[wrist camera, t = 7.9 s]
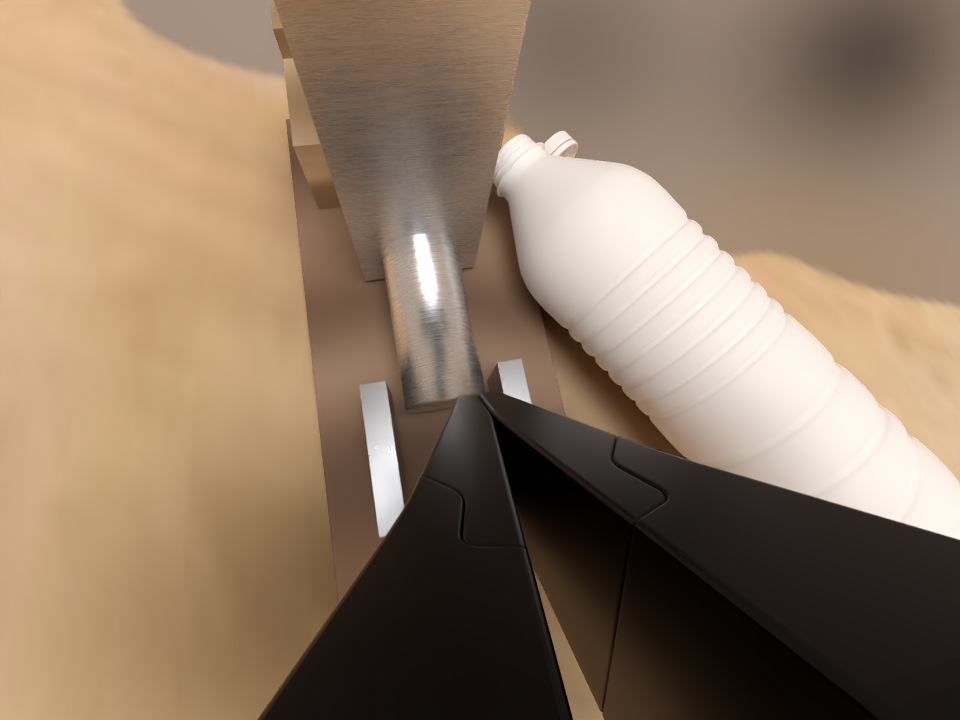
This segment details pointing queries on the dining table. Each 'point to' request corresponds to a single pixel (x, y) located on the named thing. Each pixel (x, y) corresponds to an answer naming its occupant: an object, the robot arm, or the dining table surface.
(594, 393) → the dining table surface
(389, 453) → the grey parallel guide rails
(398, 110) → the grey metal upright slab
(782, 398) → the water bottle
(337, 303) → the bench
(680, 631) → the robot arm
